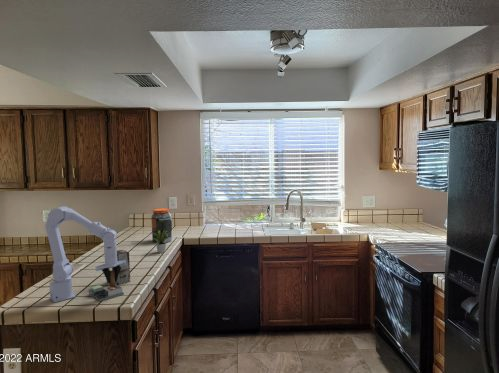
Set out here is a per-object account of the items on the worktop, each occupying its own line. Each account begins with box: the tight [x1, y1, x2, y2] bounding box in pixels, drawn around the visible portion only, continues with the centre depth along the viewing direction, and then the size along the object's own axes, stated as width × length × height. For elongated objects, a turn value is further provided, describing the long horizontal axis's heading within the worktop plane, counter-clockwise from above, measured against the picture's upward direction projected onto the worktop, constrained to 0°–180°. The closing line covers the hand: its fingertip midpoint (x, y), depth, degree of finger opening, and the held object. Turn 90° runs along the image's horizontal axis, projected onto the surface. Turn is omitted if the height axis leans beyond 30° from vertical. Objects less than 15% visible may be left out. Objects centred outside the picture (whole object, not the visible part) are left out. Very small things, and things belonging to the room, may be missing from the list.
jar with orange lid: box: [150, 208, 173, 244], centre depth 293 cm, size 16×16×26 cm
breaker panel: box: [88, 283, 125, 302], centre depth 180 cm, size 12×13×3 cm
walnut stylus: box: [108, 269, 116, 287], centre depth 179 cm, size 3×3×8 cm
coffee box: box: [111, 249, 131, 285], centre depth 199 cm, size 9×6×16 cm
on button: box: [91, 284, 104, 292], centre depth 180 cm, size 4×4×2 cm
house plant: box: [151, 230, 173, 254], centre depth 258 cm, size 14×14×16 cm
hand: (112, 282), depth 179 cm, fingers closed on walnut stylus, 3 cm apart
